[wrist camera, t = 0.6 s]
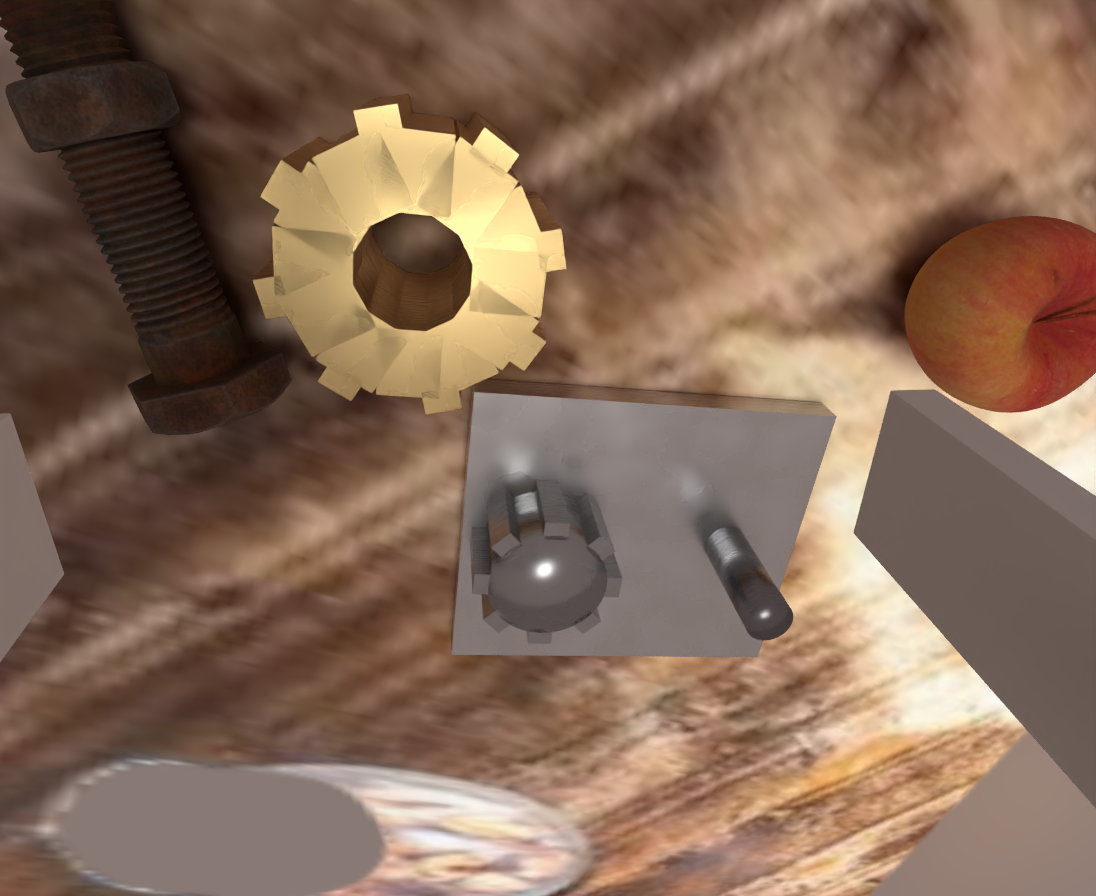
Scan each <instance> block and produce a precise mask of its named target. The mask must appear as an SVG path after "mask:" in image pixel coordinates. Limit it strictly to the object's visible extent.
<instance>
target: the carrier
mask: <svg viewBox="0 0 1096 896" xmlns="http://www.w3.org/2000/svg"><path fill="white" fill-rule="evenodd" d="M835 419H836V415H834V414H833V413H832V412H831V411H830V410H829V409H828V408H827V407H826V406H825V405H823V404H822V403H820V402H806V401H792V400H778V399H763V398H749V397H735V396H720V395H706V394H692V393H678V392H663V391H649V390H635V389H620V388H606V387H592V386H578V385H563V384H549V383H535V382H520V381H506V380H492V379H485V380H483V381H480V382H478V383H476V384H474V385H472V396H471V408H470V420H469V431H468V443H467V455H466V467H465V479H464V490H463V502H462V514H461V526H460V537H459V549H458V561H457V573H456V585H455V596H454V608H453V620H452V632H451V650H452V655H556V656H675V657H758V654H759V651H760V648H761V645H762V642H763V640H771V639H774V638H777V637H779V636H781V635H782V634H784V633H785V632H786V631H787V630H788V629H789V627H790V626H791V624H792V621H793V612H792V610H791V608H790V607H789V605H788V604H787V602H786V601H785V599H784V597H783V596H782V594H781V593H780V591H779V590H780V587H781V584H782V581H783V578H784V575H785V572H786V569H787V565H788V562H789V559H790V556H791V553H792V550H793V547H794V544H795V541H796V538H797V535H798V532H799V529H800V526H801V523H802V520H803V517H804V514H805V511H806V508H807V505H808V501H809V498H810V495H811V492H812V489H813V486H814V483H815V480H816V477H817V474H818V471H819V468H820V465H821V462H822V459H823V456H824V453H825V450H826V447H827V444H828V441H829V438H830V434H831V431H832V428H833V425H834V422H835Z"/></svg>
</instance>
